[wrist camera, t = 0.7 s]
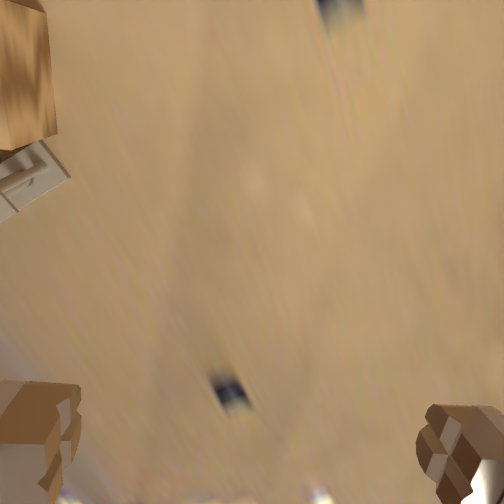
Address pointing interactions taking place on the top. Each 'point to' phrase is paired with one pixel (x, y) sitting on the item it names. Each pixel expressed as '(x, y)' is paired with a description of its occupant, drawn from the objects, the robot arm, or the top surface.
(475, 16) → the top surface
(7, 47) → the oak block
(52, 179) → the test tube rack
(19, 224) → the top surface
